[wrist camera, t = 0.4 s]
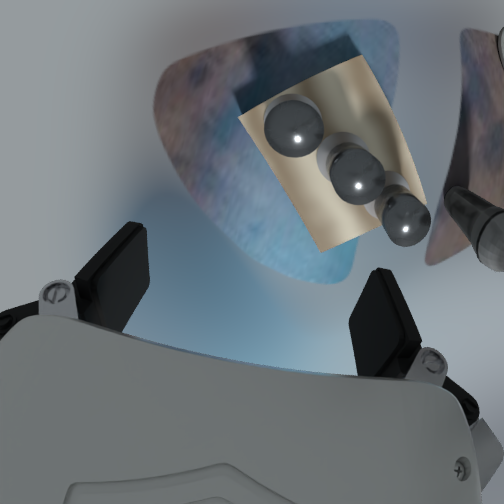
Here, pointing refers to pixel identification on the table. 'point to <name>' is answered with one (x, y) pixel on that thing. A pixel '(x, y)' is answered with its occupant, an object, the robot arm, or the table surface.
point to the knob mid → (355, 173)
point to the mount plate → (336, 132)
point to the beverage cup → (479, 225)
